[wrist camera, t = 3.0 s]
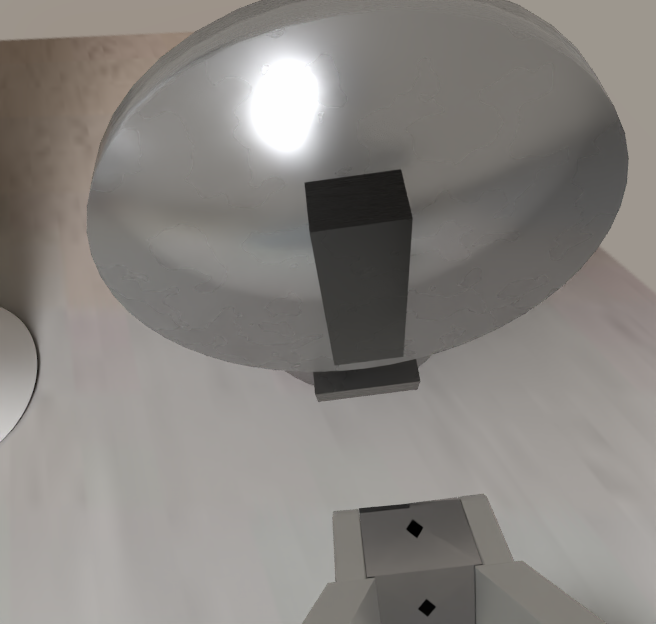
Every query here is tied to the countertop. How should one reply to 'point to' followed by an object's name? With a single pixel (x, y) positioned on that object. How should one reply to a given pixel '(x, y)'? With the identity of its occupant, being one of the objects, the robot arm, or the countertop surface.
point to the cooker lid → (354, 180)
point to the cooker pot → (363, 380)
